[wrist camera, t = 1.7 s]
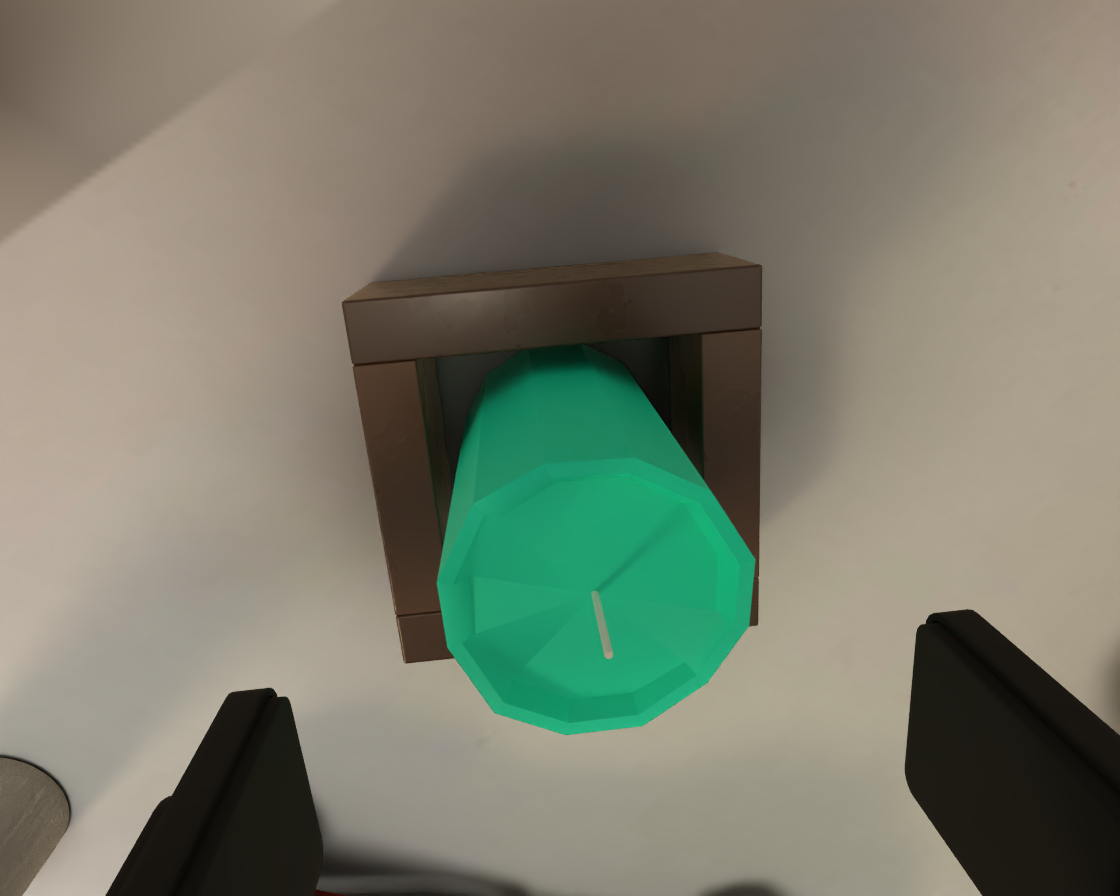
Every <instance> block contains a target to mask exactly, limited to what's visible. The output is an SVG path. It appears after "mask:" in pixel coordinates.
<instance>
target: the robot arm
mask: <svg viewBox="0 0 1120 896" xmlns="http://www.w3.org/2000/svg"><path fill="white" fill-rule="evenodd" d="M905 776H906V780H907V784H908V787H909V789H910V791H911V793H912V795H913V796H914V798H915V799H916V801H917V802H918V804H919V805H920V807H921V808H922V809H923V811H924V812H925V814H926V815H927V817H928V818H929V820H930V821H931V822H932V824H933V825H934V827H935V828H936V830H937V831H938V832H939V834H940V835H941V837H942V838H943V840H944V841H945V843H946V844H947V845H948V847H949V848H950V850H951V851H952V853H953V854H954V856H955V857H956V858H957V860H958V861H959V863H960V864H961V866H962V867H963V868H964V870H965V871H966V873H967V874H968V876H969V877H970V879H971V880H972V881H973V883H974V884H975V886H976V887H977V889H978V890H979V891H980V893H981V894H982V896H1120V735H1119V734H1117V733H1116V732H1115V731H1114V730H1113V729H1112V728H1110V727H1109V726H1108V725H1107V724H1106V723H1105V722H1103V721H1102V720H1101V719H1100V718H1099V717H1098V716H1096V715H1095V714H1094V713H1093V712H1092V711H1091V710H1089V709H1088V708H1087V707H1086V706H1085V705H1084V704H1083V703H1081V702H1080V701H1079V700H1078V699H1077V698H1076V697H1074V696H1073V695H1072V694H1071V693H1070V692H1069V691H1067V690H1066V689H1065V688H1064V687H1063V686H1062V685H1060V684H1059V683H1058V682H1057V681H1056V680H1055V679H1053V678H1052V677H1051V676H1050V675H1049V674H1048V673H1047V672H1045V671H1044V670H1043V669H1042V668H1041V667H1040V666H1038V665H1037V664H1036V663H1035V662H1034V661H1033V660H1031V659H1030V658H1029V657H1028V656H1027V655H1026V654H1024V653H1023V652H1022V651H1021V650H1020V649H1019V648H1017V647H1016V646H1015V645H1014V644H1013V643H1012V642H1011V641H1009V640H1008V639H1007V638H1006V637H1005V636H1004V635H1002V634H1001V633H1000V632H999V631H998V630H997V629H995V628H994V627H993V626H992V625H991V624H990V623H988V622H987V621H986V620H985V619H984V618H983V617H981V616H980V615H979V614H978V613H976V612H975V611H973V610H968V609H967V610H958V611H949V612H940V613H933V614H931V615H929V617H928V618H927V620H926V624H922V625H920V626H919V627H918V629H917V633H916V643H915V654H914V666H913V678H912V689H911V701H910V713H909V724H908V736H907V748H906V759H905ZM322 860H323V843H322V837H321V833H320V828H319V824H318V820H317V815H316V811H315V807H314V802H313V798H312V794H311V790H310V785H309V781H308V777H307V772H306V768H305V764H304V759H303V755H302V751H301V746H300V742H299V738H298V734H297V729H296V725H295V721H294V716H293V712H292V708H291V704H290V701H289V699H288V698H287V697H277V694H276V692H275V691H274V689H272V688H264V689H255V690H246V691H237V692H232V693H229V695H228V696H227V697H226V699H225V701H224V702H223V704H222V706H221V708H220V710H219V711H218V713H217V715H216V717H215V719H214V720H213V722H212V724H211V726H210V728H209V729H208V731H207V733H206V735H205V737H204V738H203V740H202V742H201V744H200V746H199V748H198V749H197V751H196V753H195V755H194V757H193V758H192V760H191V762H190V764H189V766H188V767H187V769H186V771H185V773H184V775H183V776H182V778H181V780H180V782H179V784H178V786H177V787H176V789H175V791H174V793H173V795H172V796H168V797H167V798H165V799H164V800H162V801H161V802H160V803H159V804H158V806H157V807H156V809H155V810H154V811H153V813H152V815H151V817H150V818H149V820H148V822H147V824H146V825H145V827H144V829H143V831H142V832H141V834H140V836H139V838H138V840H137V841H136V843H135V845H134V847H133V848H132V850H131V852H130V854H129V855H128V857H127V859H126V861H125V862H124V864H123V866H122V868H121V869H120V871H119V873H118V875H117V876H116V878H115V880H114V882H113V883H112V885H111V887H110V889H109V890H108V892H107V894H106V896H314V894H315V890H316V886H317V883H318V879H319V875H320V871H321V867H322Z"/></svg>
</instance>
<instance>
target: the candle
mask: <svg viewBox="0 0 1120 896" xmlns="http://www.w3.org/2000/svg"><path fill="white" fill-rule="evenodd" d="M754 570H755V558H754V556H753V555H752V553H751V552H750V550H749V549H748V547H747V546H746V544H745V543H744V541H743V539H742V538H741V536H740V535H739V533H738V532H737V530H736V529H735V527H734V526H733V524H732V523H731V521H730V519H729V518H728V516H727V515H726V513H725V512H724V510H723V509H722V507H721V506H720V504H719V503H718V501H717V499H716V498H715V496H714V495H713V493H712V492H711V490H710V489H709V487H708V486H707V484H706V483H705V482H704V480H703V479H702V477H701V476H700V474H699V473H698V471H697V470H696V468H695V467H694V466H693V464H692V463H691V461H690V460H689V458H688V457H687V455H686V454H685V452H684V451H683V450H682V448H681V447H680V445H679V444H678V442H677V441H676V439H675V438H674V436H673V435H672V434H671V432H670V431H669V429H668V428H667V426H666V425H665V423H664V422H663V421H662V419H661V418H660V416H659V415H658V413H657V412H656V410H655V409H654V407H653V406H652V405H651V403H650V402H649V400H648V399H647V397H646V396H645V394H644V393H643V391H642V390H641V389H640V387H639V386H638V384H637V383H636V381H635V380H634V378H633V377H632V375H631V374H630V373H629V371H628V370H627V368H626V367H625V365H624V364H623V363H621V362H619V361H617V360H615V359H613V358H611V357H609V356H607V355H604V354H602V353H600V352H598V351H596V350H594V349H592V348H590V347H588V346H586V345H584V344H581V345H570V346H559V347H548V348H537V349H526V350H522V351H520V352H519V353H517V354H516V355H514V356H513V357H511V358H510V359H508V360H507V361H505V362H504V363H502V364H501V365H500V366H498V367H497V368H495V369H494V370H492V371H491V372H489V373H488V374H486V377H485V379H484V381H483V383H482V385H481V387H480V389H479V391H478V394H477V396H476V398H475V400H474V402H473V404H472V406H471V408H470V410H469V413H468V415H467V417H466V420H465V426H464V432H463V437H462V443H461V449H460V454H459V460H458V466H457V471H456V477H455V482H454V488H453V494H452V499H451V505H450V511H449V516H448V522H447V528H446V533H445V539H444V545H443V550H442V556H441V562H440V567H439V573H438V578H437V587H438V594H439V600H440V606H441V612H442V618H443V624H444V630H445V636H446V642H447V648H448V649H449V651H450V652H451V653H452V655H453V656H454V658H455V659H456V660H457V662H458V663H459V665H460V666H461V667H462V669H463V670H464V672H465V673H466V674H467V676H468V677H469V678H470V680H471V681H472V683H473V684H474V685H475V687H476V688H477V690H478V691H479V692H480V694H481V695H482V697H483V698H484V699H485V701H486V702H487V703H488V705H489V706H490V708H491V709H492V710H493V712H494V713H496V714H499V715H502V716H506V717H509V718H512V719H515V720H518V721H522V722H525V723H528V724H531V725H535V726H538V727H541V728H544V729H548V730H551V731H554V732H557V733H560V734H564V735H571V734H579V733H588V732H596V731H605V730H613V729H622V728H630V727H639V726H643V725H645V724H646V723H648V722H649V721H651V720H652V719H654V718H655V717H657V716H658V715H660V714H661V713H663V712H664V711H666V710H667V709H669V708H670V707H672V706H673V705H675V704H676V703H678V702H679V701H681V700H682V699H684V698H685V697H687V696H688V695H690V694H691V693H693V692H694V691H696V690H697V689H699V688H700V687H702V686H703V685H705V684H706V683H707V682H708V681H709V680H710V678H711V677H712V676H713V674H714V673H715V672H716V670H717V669H718V667H719V666H720V665H721V663H722V662H723V661H724V659H725V658H726V657H727V655H728V654H729V652H730V651H731V650H732V648H733V647H734V646H735V644H736V643H737V642H738V640H739V639H740V637H741V636H742V635H743V633H744V632H745V631H746V629H747V628H748V626H749V623H750V613H751V602H752V591H753V580H754Z"/></svg>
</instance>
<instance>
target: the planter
mask: <svg viewBox="0 0 1120 896" xmlns="http://www.w3.org/2000/svg"><path fill="white" fill-rule="evenodd" d="M68 822H69V807H68V803H67V800H66V798H65V796H64V794H63V792H62V790H61V789H60V787H59V786H58V785H57V784H56V783H55V782H54V781H53V780H52V779H51V778H50V777H49V776H48V775H46V774H45V773H43V772H42V771H40V770H38V769H37V768H35V767H33V766H31V765H28V764H26V763H23V762H20V761H17V760H13V759H8V758H0V896H22V895H23V894H24V892H25V891H26V889H27V888H28V886H29V885H30V884H31V882H32V881H33V879H34V878H35V876H36V875H37V873H38V872H39V870H40V869H41V868H42V866H43V865H44V863H45V862H46V860H47V859H48V857H49V856H50V854H51V853H52V852H53V850H54V849H55V847H56V845H57V844H58V842H59V841H60V839H61V837H62V836H63V834H64V832H65V830H66V828H67V826H68Z"/></svg>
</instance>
